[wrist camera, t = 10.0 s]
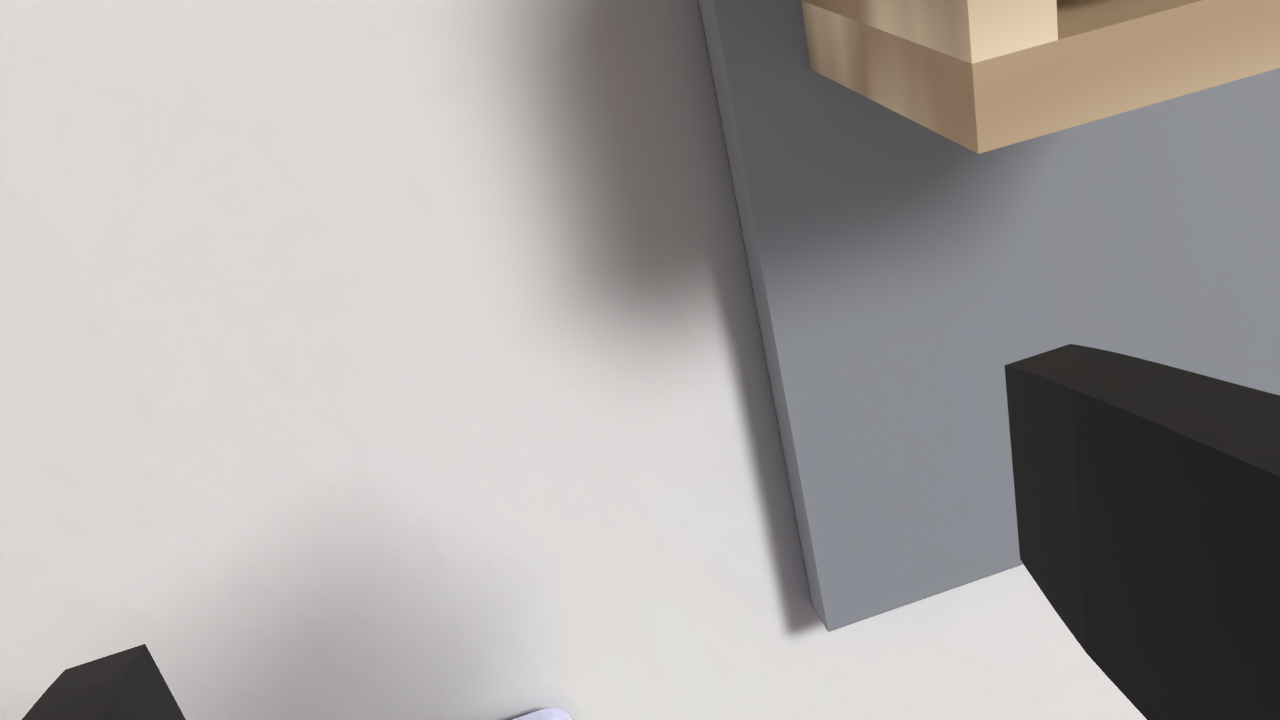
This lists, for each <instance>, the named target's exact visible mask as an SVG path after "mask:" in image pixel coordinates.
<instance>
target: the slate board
mask: <svg viewBox="0 0 1280 720" xmlns="http://www.w3.org/2000/svg"><path fill="white" fill-rule="evenodd" d="M699 5H700V10H701V16H702V21H703V26H704V32H705V37H706V42H707V48H708V53H709V58H710V64H711V69H712V74H713V80H714V85H715V90H716V96H717V101H718V106H719V112H720V117H721V122H722V127H723V133H724V138H725V143H726V149H727V154H728V159H729V165H730V170H731V175H732V181H733V186H734V191H735V197H736V202H737V207H738V213H739V218H740V223H741V229H742V234H743V239H744V244H745V250H746V255H747V260H748V266H749V271H750V276H751V282H752V287H753V292H754V298H755V303H756V308H757V314H758V319H759V324H760V330H761V335H762V340H763V346H764V351H765V356H766V361H767V367H768V372H769V377H770V383H771V388H772V393H773V399H774V404H775V409H776V415H777V420H778V425H779V431H780V436H781V441H782V447H783V452H784V457H785V463H786V468H787V473H788V478H789V484H790V489H791V494H792V500H793V505H794V510H795V516H796V521H797V526H798V532H799V537H800V542H801V548H802V553H803V558H804V564H805V569H806V574H807V580H808V585H809V590H810V595H811V601H812V606H813V608H814V610H815V611H816V613H817V614H818V616H819V618H820V619H821V621H822V622H823V624H824V626H825V627H826V629H827V630H828V632H829V631H832V630H835V629H838V628H841V627H844V626H847V625H850V624H852V623H855V622H858V621H861V620H864V619H867V618H870V617H873V616H876V615H878V614H881V613H884V612H887V611H890V610H893V609H896V608H899V607H901V606H904V605H907V604H910V603H913V602H916V601H919V600H922V599H924V598H927V597H930V596H933V595H936V594H939V593H942V592H945V591H947V590H950V589H953V588H956V587H959V586H962V585H965V584H968V583H971V582H973V581H976V580H979V579H982V578H985V577H988V576H991V575H994V574H996V573H999V572H1002V571H1005V570H1008V569H1011V568H1014V567H1017V566H1019V565H1022V564H1023V562H1022V561H1021V560H1020V551H1019V539H1018V527H1017V514H1016V502H1015V490H1014V477H1013V465H1012V452H1011V440H1010V428H1009V415H1008V403H1007V391H1006V378H1005V366H1004V365H1007V364H1010V363H1013V362H1016V361H1019V360H1022V359H1025V358H1029V357H1032V356H1035V355H1038V354H1041V353H1044V352H1047V351H1050V350H1053V349H1056V348H1059V347H1062V346H1066V345H1069V344H1075V345H1080V346H1086V347H1092V348H1097V349H1102V350H1106V351H1111V352H1115V353H1120V354H1124V355H1128V356H1132V357H1136V358H1140V359H1144V360H1148V361H1152V362H1156V363H1160V364H1164V365H1167V366H1171V367H1175V368H1179V369H1182V370H1186V371H1190V372H1194V373H1197V374H1201V375H1205V376H1208V377H1212V378H1216V379H1220V380H1223V381H1227V382H1231V383H1234V384H1238V385H1242V386H1246V387H1249V388H1253V389H1257V390H1261V391H1264V392H1268V393H1272V394H1276V395H1279V396H1280V68H1277V69H1274V70H1270V71H1267V72H1263V73H1260V74H1256V75H1253V76H1249V77H1246V78H1242V79H1239V80H1235V81H1232V82H1228V83H1225V84H1221V85H1218V86H1214V87H1211V88H1207V89H1204V90H1200V91H1197V92H1193V93H1190V94H1186V95H1183V96H1179V97H1176V98H1172V99H1169V100H1165V101H1162V102H1158V103H1155V104H1151V105H1148V106H1144V107H1141V108H1137V109H1134V110H1130V111H1127V112H1123V113H1120V114H1116V115H1113V116H1109V117H1106V118H1102V119H1099V120H1095V121H1092V122H1088V123H1085V124H1081V125H1078V126H1074V127H1071V128H1067V129H1064V130H1060V131H1057V132H1053V133H1050V134H1046V135H1043V136H1039V137H1036V138H1032V139H1029V140H1025V141H1022V142H1018V143H1015V144H1011V145H1008V146H1004V147H1001V148H997V149H994V150H990V151H987V152H983V153H980V154H978V153H976V152H974V151H972V150H970V149H968V148H966V147H964V146H962V145H960V144H958V143H956V142H954V141H952V140H950V139H948V138H946V137H944V136H942V135H940V134H938V133H936V132H934V131H932V130H930V129H928V128H926V127H924V126H922V125H920V124H918V123H916V122H914V121H912V120H910V119H908V118H906V117H904V116H902V115H900V114H898V113H896V112H894V111H892V110H890V109H888V108H886V107H884V106H883V105H881V104H879V103H877V102H875V101H873V100H871V99H869V98H867V97H865V96H863V95H861V94H859V93H857V92H855V91H853V90H851V89H849V88H847V87H845V86H843V85H841V84H839V83H837V82H835V81H833V80H831V79H829V78H827V77H825V76H823V75H821V74H819V73H817V72H815V71H813V70H811V68H810V61H809V54H808V46H807V39H806V31H805V24H804V17H803V9H802V2H801V0H699Z"/></svg>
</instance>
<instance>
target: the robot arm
mask: <svg viewBox="0 0 1280 720" xmlns="http://www.w3.org/2000/svg"><path fill="white" fill-rule="evenodd" d="M1004 366H1005V378H1006V391H1007V403H1008V415H1009V428H1010V440H1011V452H1012V465H1013V477H1014V490H1015V502H1016V514H1017V527H1018V539H1019V551H1020V560H1021V561H1022V562H1023V564H1024V565H1025V567H1026V568H1027V570H1028V571H1029V573H1030V574H1031V576H1032V577H1033V579H1034V580H1035V582H1036V583H1037V584H1038V586H1039V587H1040V589H1041V590H1042V592H1043V593H1044V595H1045V596H1046V598H1047V599H1048V601H1049V602H1050V603H1051V605H1052V606H1053V608H1054V609H1055V611H1056V612H1057V613H1058V615H1059V616H1060V618H1061V619H1062V620H1063V622H1064V623H1065V624H1066V626H1067V627H1068V629H1069V630H1070V631H1071V633H1072V634H1073V635H1074V637H1075V638H1076V639H1077V641H1078V642H1079V644H1080V645H1081V646H1082V648H1083V649H1084V650H1085V652H1086V653H1087V654H1088V655H1089V656H1090V657H1091V659H1092V660H1093V661H1094V662H1095V663H1096V664H1097V665H1098V666H1099V667H1100V669H1101V670H1102V671H1103V672H1104V673H1105V674H1106V675H1107V676H1108V677H1109V679H1110V680H1111V681H1112V682H1113V683H1114V684H1115V685H1116V686H1117V687H1118V688H1119V689H1120V691H1121V692H1122V693H1123V694H1124V695H1125V696H1126V697H1127V698H1128V699H1129V700H1130V701H1131V703H1132V704H1133V705H1134V706H1135V707H1136V708H1137V709H1138V710H1139V711H1140V712H1141V713H1142V714H1143V716H1144V717H1145V718H1146V719H1147V720H1280V396H1279V395H1276V394H1272V393H1268V392H1264V391H1261V390H1257V389H1253V388H1249V387H1246V386H1242V385H1238V384H1234V383H1231V382H1227V381H1223V380H1220V379H1216V378H1212V377H1208V376H1205V375H1201V374H1197V373H1194V372H1190V371H1186V370H1182V369H1179V368H1175V367H1171V366H1167V365H1164V364H1160V363H1156V362H1152V361H1148V360H1144V359H1140V358H1136V357H1132V356H1128V355H1124V354H1120V353H1115V352H1111V351H1106V350H1102V349H1097V348H1092V347H1086V346H1080V345H1075V344H1069V345H1066V346H1062V347H1059V348H1056V349H1053V350H1050V351H1047V352H1044V353H1041V354H1038V355H1035V356H1032V357H1029V358H1025V359H1022V360H1019V361H1016V362H1013V363H1010V364H1007V365H1004ZM22 720H185V718H184V716H183V714H182V712H181V710H180V708H179V706H178V705H177V703H176V701H175V699H174V697H173V695H172V693H171V692H170V690H169V688H168V686H167V684H166V682H165V680H164V678H163V677H162V675H161V673H160V671H159V669H158V667H157V665H156V664H155V662H154V660H153V658H152V656H151V654H150V652H149V651H148V649H147V647H146V645H145V644H144V645H140V646H137V647H134V648H131V649H128V650H125V651H122V652H119V653H116V654H113V655H110V656H107V657H103V658H100V659H97V660H94V661H91V662H88V663H85V664H82V665H79V666H76V667H73V668H70V669H66V670H65V671H64V672H63V673H62V674H61V675H60V676H59V677H58V678H57V679H56V680H55V682H54V683H53V684H52V685H51V686H50V687H49V688H48V689H47V690H46V692H45V693H44V694H43V695H42V696H41V697H40V699H39V700H38V701H37V702H36V703H35V704H34V706H33V707H32V708H31V709H30V711H29V712H28V713H27V714H26V715H25V717H24V718H23V719H22ZM512 720H572V719H571V717H570V715H569V714H568V713H566V712H565V711H563V710H561V709H556V708H547V709H542V710H538V711H535V712H532V713H530V714H527V715H524V716H521V717H518V718H515V719H512Z"/></svg>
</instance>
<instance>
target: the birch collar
mask: <svg viewBox="0 0 1280 720" xmlns="http://www.w3.org/2000/svg"><path fill="white" fill-rule="evenodd" d="M801 2H802V9H803V17H804V24H805V31H806V39H807V46H808V54H809V61H810V68H811V70H813V71H815V72H817V73H819V74H821V75H823V76H825V77H827V78H829V79H831V80H833V81H835V82H837V83H839V84H841V85H843V86H845V87H847V88H849V89H851V90H853V91H855V92H857V93H859V94H861V95H863V96H865V97H867V98H869V99H871V100H873V101H875V102H877V103H879V104H881V105H883V106H884V107H886V108H888V109H890V110H892V111H894V112H896V113H898V114H900V115H902V116H904V117H906V118H908V119H910V120H912V121H914V122H916V123H918V124H920V125H922V126H924V127H926V128H928V129H930V130H932V131H934V132H936V133H938V134H940V135H942V136H944V137H946V138H948V139H950V140H952V141H954V142H956V143H958V144H960V145H962V146H964V147H966V148H968V149H970V150H972V151H974V152H976V153H978V154H980V153H983V152H987V151H990V150H994V149H997V148H1001V147H1004V146H1008V145H1011V144H1015V143H1018V142H1022V141H1025V140H1029V139H1032V138H1036V137H1039V136H1043V135H1046V134H1050V133H1053V132H1057V131H1060V130H1064V129H1067V128H1071V127H1074V126H1078V125H1081V124H1085V123H1088V122H1092V121H1095V120H1099V119H1102V118H1106V117H1109V116H1113V115H1116V114H1120V113H1123V112H1127V111H1130V110H1134V109H1137V108H1141V107H1144V106H1148V105H1151V104H1155V103H1158V102H1162V101H1165V100H1169V99H1172V98H1176V97H1179V96H1183V95H1186V94H1190V93H1193V92H1197V91H1200V90H1204V89H1207V88H1211V87H1214V86H1218V85H1221V84H1225V83H1228V82H1232V81H1235V80H1239V79H1242V78H1246V77H1249V76H1253V75H1256V74H1260V73H1263V72H1267V71H1270V70H1274V69H1277V68H1280V0H801Z"/></svg>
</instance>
